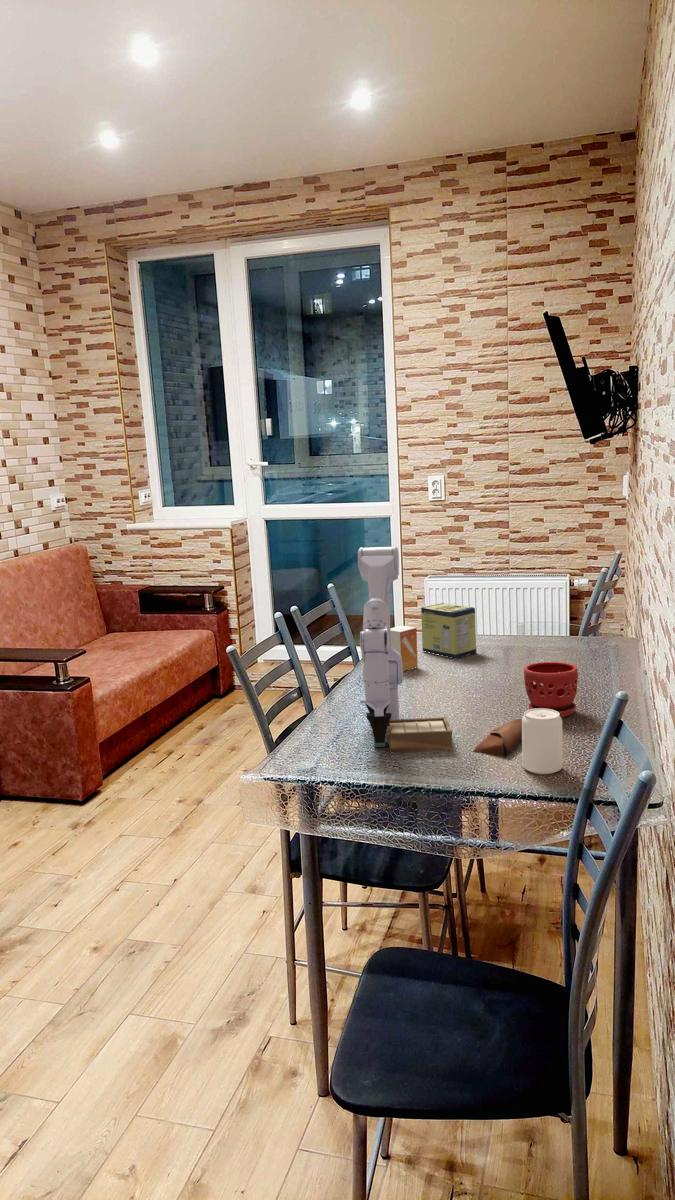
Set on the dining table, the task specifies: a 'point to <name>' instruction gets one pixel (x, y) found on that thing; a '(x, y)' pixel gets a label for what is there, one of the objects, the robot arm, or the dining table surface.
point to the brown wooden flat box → (421, 738)
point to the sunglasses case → (502, 739)
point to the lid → (413, 728)
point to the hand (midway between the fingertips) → (379, 736)
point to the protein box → (448, 630)
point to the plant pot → (552, 686)
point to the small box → (405, 645)
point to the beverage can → (542, 741)
